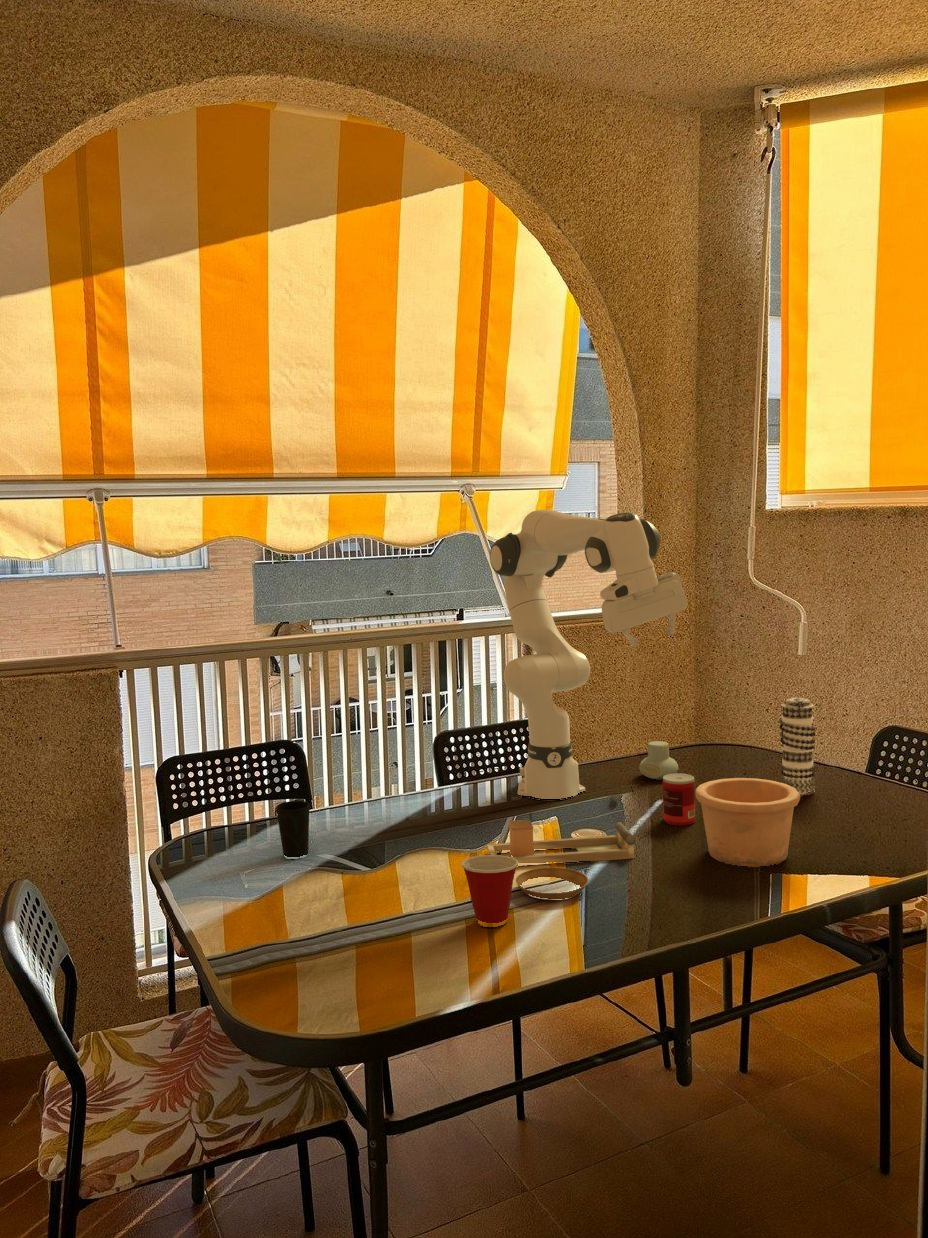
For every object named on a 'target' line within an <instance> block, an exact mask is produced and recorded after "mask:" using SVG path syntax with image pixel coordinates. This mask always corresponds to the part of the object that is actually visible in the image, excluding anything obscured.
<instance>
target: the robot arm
mask: <svg viewBox="0 0 928 1238" xmlns="http://www.w3.org/2000/svg"><path fill="white" fill-rule="evenodd" d="M660 546H661V536H660V533H659V531H658V529H657V528H656V526H654V524H653V523H651V522H649V521H648V520H646V519H643V518H639V516H638V515H637V514H636V513H632V512H622V513H619V512H618V513H616V514H612V515H610V516H608V517H606V518H596V517H589V516H581V515H580V516H579V515H573V514H570V513H564V512H561V511H557V510H553V509H536V510H534V511H533V510H532V511H531V512H529V513H528V514H526V515H525V517H524V518H523V521H522V523H521V530H520V532H519V533H516V534H515V533H512V532H509V533H507V534H506V535H505V536H503V537H501V538H499V539H497V540H496V541H495V542H494V543H493V544H492V545H491V547H490V550H489V562H490V565H491V567H492V569H493V571H494V572H495V574H497V575H498V576H503V577H505V580H504V592H505V593H504V594H505V598H506V599H505V600H506V605H507V609H508V613H509V617H510V619H511V623H512V627H513V631H514V634H515V636H516V638H517V639H518V641H519V642H521V643H522V644H525V645H526V646H528V647H530V648H531V649H532V650H533V651H534V652H535V654H526V655H523V656H519V657H517V658H514V659H512V660H509V661H508V663H507V664H506V665H505V668H504V669H503V670H504V671H503V680H504V685H505V687H506V688H507V689H508V691H509V692H510V694H512V695H514V696H515V697H516V698H517V699H518V700H519V701H520V702H521V703H522V705H523V708H524V709H525V713H526V717H527V722H528V734H529V742H528V745H527V755H528V758H527V760H526V763H525V765H524V766H523V767H519V776H520V777H521V776H522V777H523V776H524V777H523V778H521V779H522V781H520V782H519V781H518V787H517V788H518V789H517V794H519V795H524V796H532V797H535V798H541V799H560V800H562V799H561V798H566V799H568V798H567V797H571V796H573V797H576V796H577V795H578V793H579V794H581V793H580V792H582V793H584V792H583V791H585V792H586V787H585V786H584V785H582V784H580V775H579V763H578V762H577V761H576V760H575V759H574V758H573V745H572V741H571V735H570V734H571V733H570V732H571V730H570V729H571V725H570V716H569V714H568V712H567V711H566V710H565V709H563V708H562V707H560V706H558V705H556V704H555V701H554V699H553V693H558V692H564V691H571V690H574V689H576V688H579V687H581V686H583V685H585V684H586V683H587V682H588V680H589V678H590V675H591V665H590V661H589V660H588V658H587V657H586V655H585V654H584V653H582V652H580V651H578V650H577V649H575V648H574V647H573V646H571V645H570V644H569V642H567V640H566V639H565V638H564V637H563V635H562V634H561V633H560V631H559V630H558V628H557V627H558V626H556V623H555V620H554V617H553V614H552V611H551V609H550V604H549V602H548V599H547V596H546V593H545V590H544V587H543V580H544V578H545V577H547V578H552V577H554V575H555V573H556V572H557V571H559V570H561V568H563V566H564V565H565V563H566V561H567V559H568V556H569V555H572V554H576V553H578V552H581V551H584V555H585V560H586V562H587V564H588V566H589V567H590V568H591V569H592V570H593V571H595V572H597V573H600V574H603V573H610V572H613V571H615V576H616V580H614V581H612V582H611V583H610V584H608V585H607V586H606V587H604V588H603V589H602V590H601V591H600V592H599V595H600V598H601V600H603V602H602V605H601V615H602V619H603V625H604V628H605V630H606V631H607V632H609V633H610V634H611V633H613V634H614V633H616V634H617V633H618V632H621V634H622V635H623V636H624V637H625V638H626V639H627V640H628V641H629V645H630V647H631V648H635V647H637V646H640V642H639V638H638V637H633V635H632V634H631V633H632V629H631V628H633V627H636V626H640V625H642V624H646V623H649V622H651V621H656V620H657V619H662V618H663V617H666V619H668V623H667V625H666V626H665V627H664V629H665V633H666V635H673V634H675V633H676V629H675V624H676V621H677V615H676V613H678V612H683V611H684V610H687V608H688V604H689V603H688V598H687V596H686V594H685V592H684V591H685V590H684V589H683V587H682V585H683V584H682V580H681V576H680V575H679V574H678V573H676V572H673V571H670V572H667V573H664V574H660V575H657V573H656V569H655V564H654V562H653V559H654V558H655V557H656V555H657V553H658V552H659V549H660ZM571 798H572V797H571Z"/></svg>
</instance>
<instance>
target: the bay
mask: <svg viewBox="0 0 928 1238" xmlns="http://www.w3.org/2000/svg"><path fill="white" fill-rule="evenodd" d="M614 828H615V830H616V834H612V835H611V834H609V835H598V836H586V837H585V836H584V837H569V838H568V837H567V838H558V839H545V840H533V848H534V849H554V848H572V849H575V850H576V851H570V852H557V853H555V852H554V853H542V854H534V855H528V856H514V857H512V858H514V859H516V860H518V863H546V862H552V863H553V862H577V863H580V862H579V861H591V862H600V861H604V862H605V861H612V860H613V861H614V860H626V859H627V860H628V859H635V843H636V842H637V841H636V838H635V837H634V835H633V834H632V833H631V832H630V830H628V828H627V827H626V826H625V825H624V824H623V822H621V821H618V822H616V823H615V824H614ZM486 848H487V850H488V853H489V855H497V854H496V852H495V851H501V850H510V842H504V843H491V844H487V845H486ZM488 853H487V854H488Z"/></svg>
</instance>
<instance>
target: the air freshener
mask: <svg viewBox="0 0 928 1238" xmlns="http://www.w3.org/2000/svg"><path fill="white" fill-rule="evenodd" d="M638 769H639V771H640V773H641V774H642V775H643V776H645V777H646V778H648V779H650V778H651V779H650V780H652V779H656V780H655V781H660V780H662V779H663V776H665V775H668V774H674V773H678V771H679V764H678V763H677V760H675V759H674V758H672V757H670V744H669V743H668V742H667V741H660V740H655V741H653V740H652V741H649V742H648V744H647V756H646V757H644V758H643V759H642V760H641V761H640V764H639V768H638ZM662 781H663V780H662Z"/></svg>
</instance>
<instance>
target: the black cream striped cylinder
mask: <svg viewBox="0 0 928 1238" xmlns="http://www.w3.org/2000/svg"><path fill="white" fill-rule="evenodd" d="M781 706H782V715H781V718H779V721H778V723H779V727H778V728H779V730H781V732H779V736H780V739H779V742H781V744H780V746H781V747H780V749H781V750H782V761H781V762H782V763H781V765H780V768H781V769H782V770H781V772H780V774H781V775H782V776H781V777H780V782H781V783H784V784H787V785H789V786H791V787H794V788H795V789H796V790H797V791H798V792H799V793H800V794H804V793H808V792H811V791H812V790H815V788H816V784H815V783H816V780H815V778H814V777H815V772H814V771H815V769H816V768H815V766H814V759H813V751H815V749H816V746H815V745H814V744H815V743H816V740H814V739H813V737H816V733H815V732H814V731H816V727H815V726H814V725H813V723H814V722H815V719H814V716H813V707H814V704H813V703H811V701H810V700H809V699H808V698H805V697H789V698H786V700H785V701H784V702H783V703H781Z"/></svg>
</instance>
